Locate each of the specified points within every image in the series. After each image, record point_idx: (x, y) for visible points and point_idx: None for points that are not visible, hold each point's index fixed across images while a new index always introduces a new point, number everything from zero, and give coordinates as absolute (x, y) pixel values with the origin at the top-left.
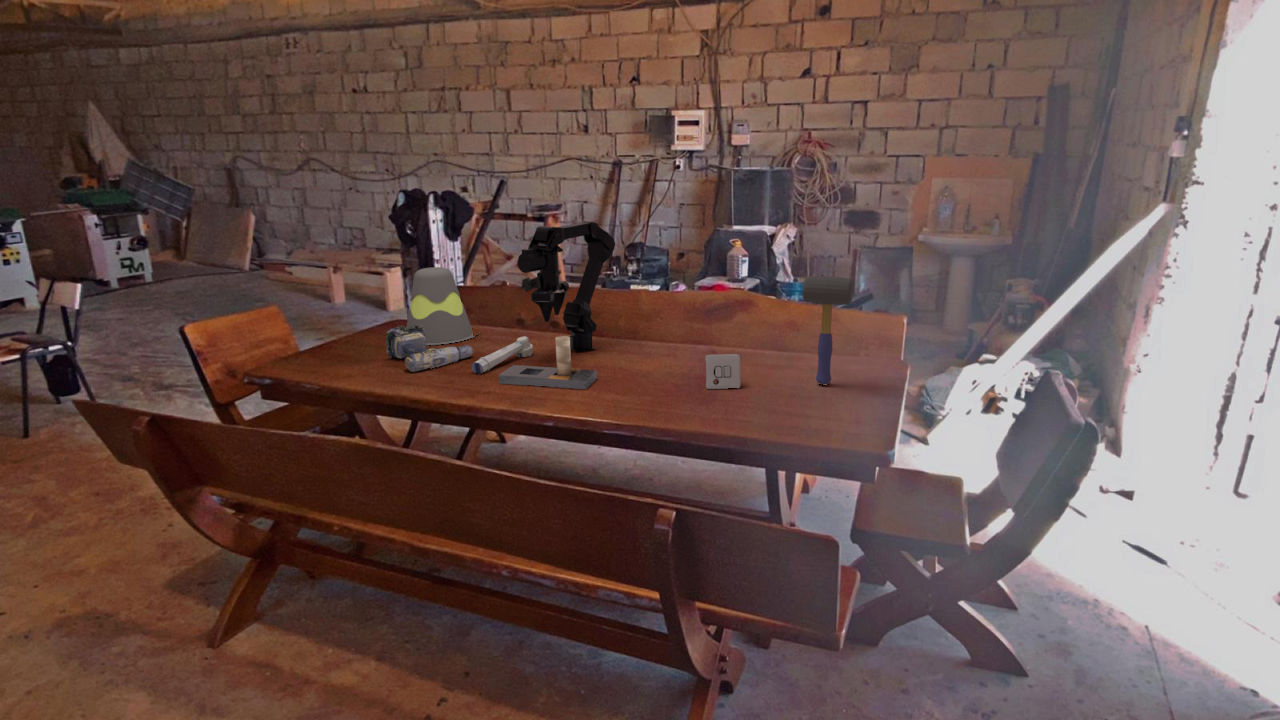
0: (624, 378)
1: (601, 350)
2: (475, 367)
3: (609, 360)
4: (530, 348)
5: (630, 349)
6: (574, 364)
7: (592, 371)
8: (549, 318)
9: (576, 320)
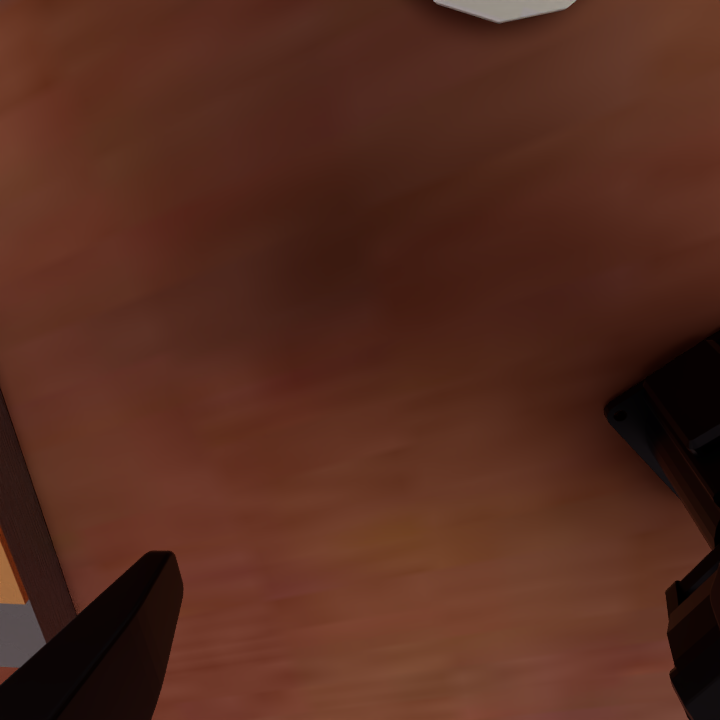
0: None
1: (671, 534)
2: None
3: (428, 613)
4: (473, 14)
5: None
6: (297, 464)
7: (26, 656)
8: (157, 656)
9: (696, 680)
